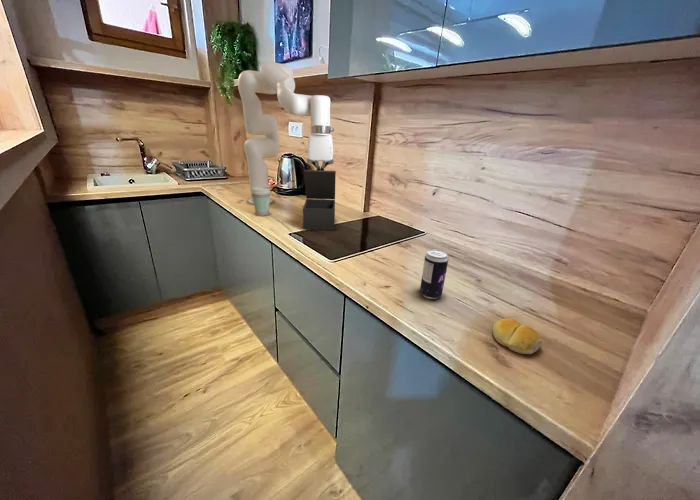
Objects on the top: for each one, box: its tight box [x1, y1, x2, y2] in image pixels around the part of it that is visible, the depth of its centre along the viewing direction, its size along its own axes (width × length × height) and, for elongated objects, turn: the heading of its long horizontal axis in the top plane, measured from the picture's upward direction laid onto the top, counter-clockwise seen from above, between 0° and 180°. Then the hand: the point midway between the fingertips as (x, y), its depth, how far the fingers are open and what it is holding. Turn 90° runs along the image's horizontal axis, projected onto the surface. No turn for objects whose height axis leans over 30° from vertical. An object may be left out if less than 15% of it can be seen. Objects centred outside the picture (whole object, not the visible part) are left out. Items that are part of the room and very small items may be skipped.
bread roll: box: [492, 317, 543, 355], centre depth 63 cm, size 8×9×4 cm
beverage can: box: [419, 249, 449, 300], centre depth 77 cm, size 6×6×12 cm
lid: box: [303, 169, 337, 200], centre depth 127 cm, size 16×13×1 cm
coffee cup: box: [251, 186, 271, 217], centre depth 138 cm, size 8×8×12 cm
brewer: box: [302, 199, 336, 231], centre depth 129 cm, size 16×13×9 cm
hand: (320, 178), depth 126 cm, fingers closed
